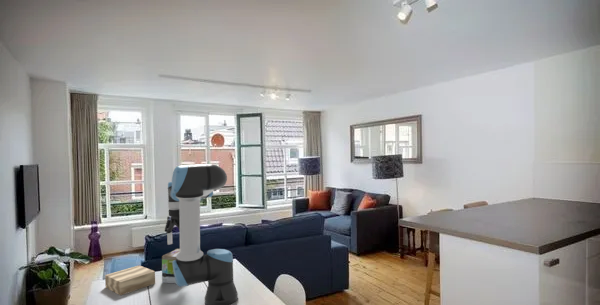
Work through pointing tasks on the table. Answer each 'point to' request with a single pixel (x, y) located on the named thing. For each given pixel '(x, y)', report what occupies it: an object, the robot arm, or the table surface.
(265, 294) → the table surface
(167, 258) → the tea box
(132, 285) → the oak block
